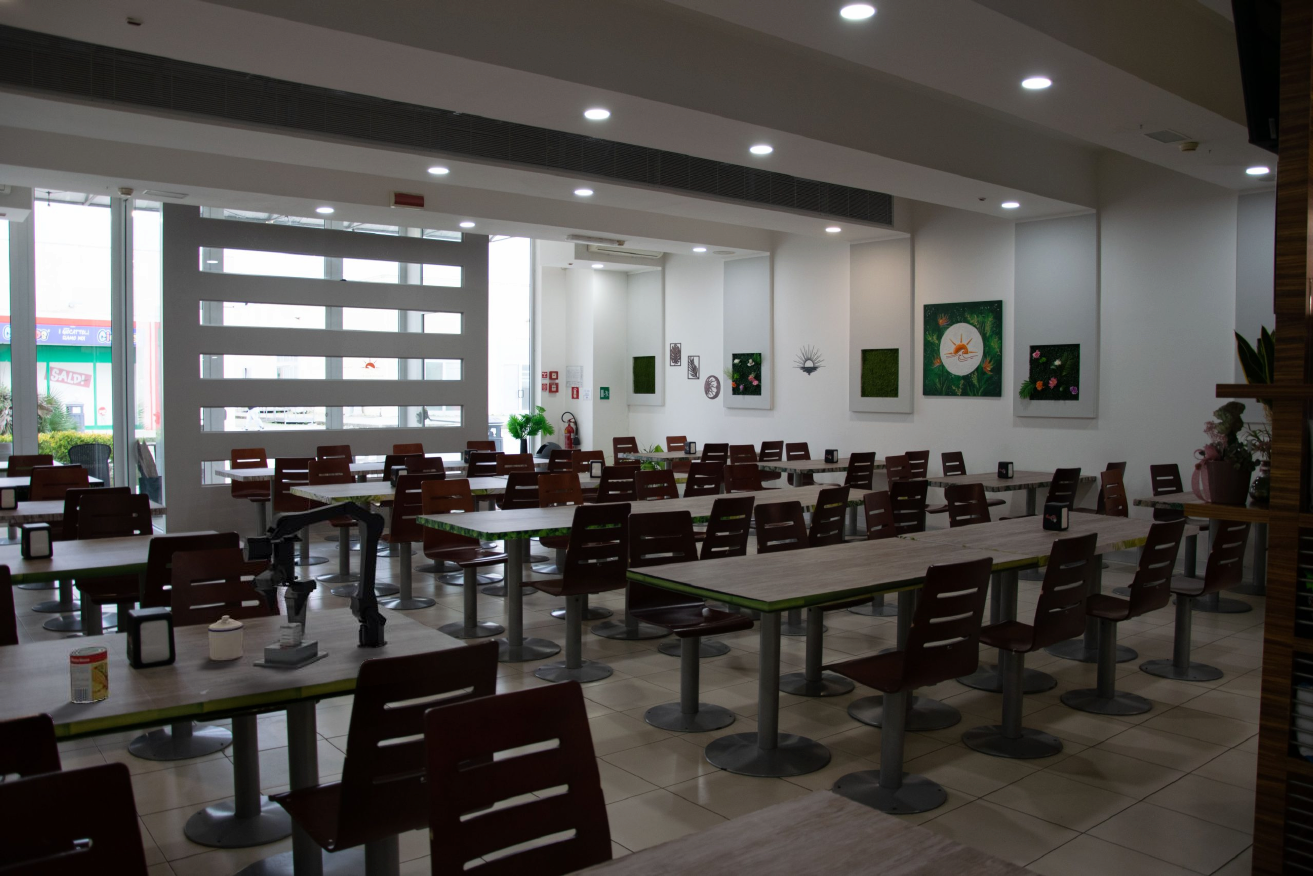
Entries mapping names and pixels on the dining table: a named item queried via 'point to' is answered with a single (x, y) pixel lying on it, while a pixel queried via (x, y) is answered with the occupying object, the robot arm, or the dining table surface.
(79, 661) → the canned food
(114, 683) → the dining table surface
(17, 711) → the dining table surface
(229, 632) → the teacup with lid
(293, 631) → the column
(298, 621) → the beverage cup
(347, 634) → the dining table surface
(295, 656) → the base
